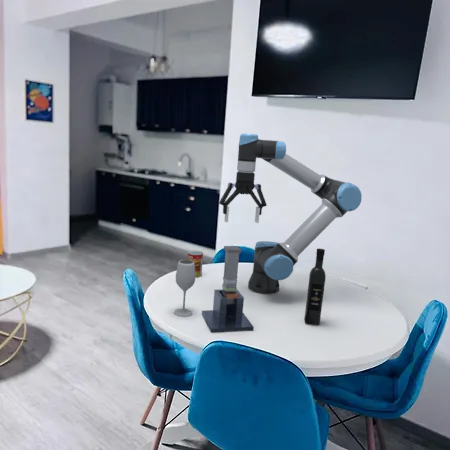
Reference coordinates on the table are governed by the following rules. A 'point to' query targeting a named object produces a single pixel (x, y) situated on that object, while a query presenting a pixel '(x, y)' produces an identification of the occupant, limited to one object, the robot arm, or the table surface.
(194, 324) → the table surface
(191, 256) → the canned food
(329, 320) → the table surface
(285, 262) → the robot arm
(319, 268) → the wine bottle
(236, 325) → the stand
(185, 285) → the wineglass
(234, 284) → the column
